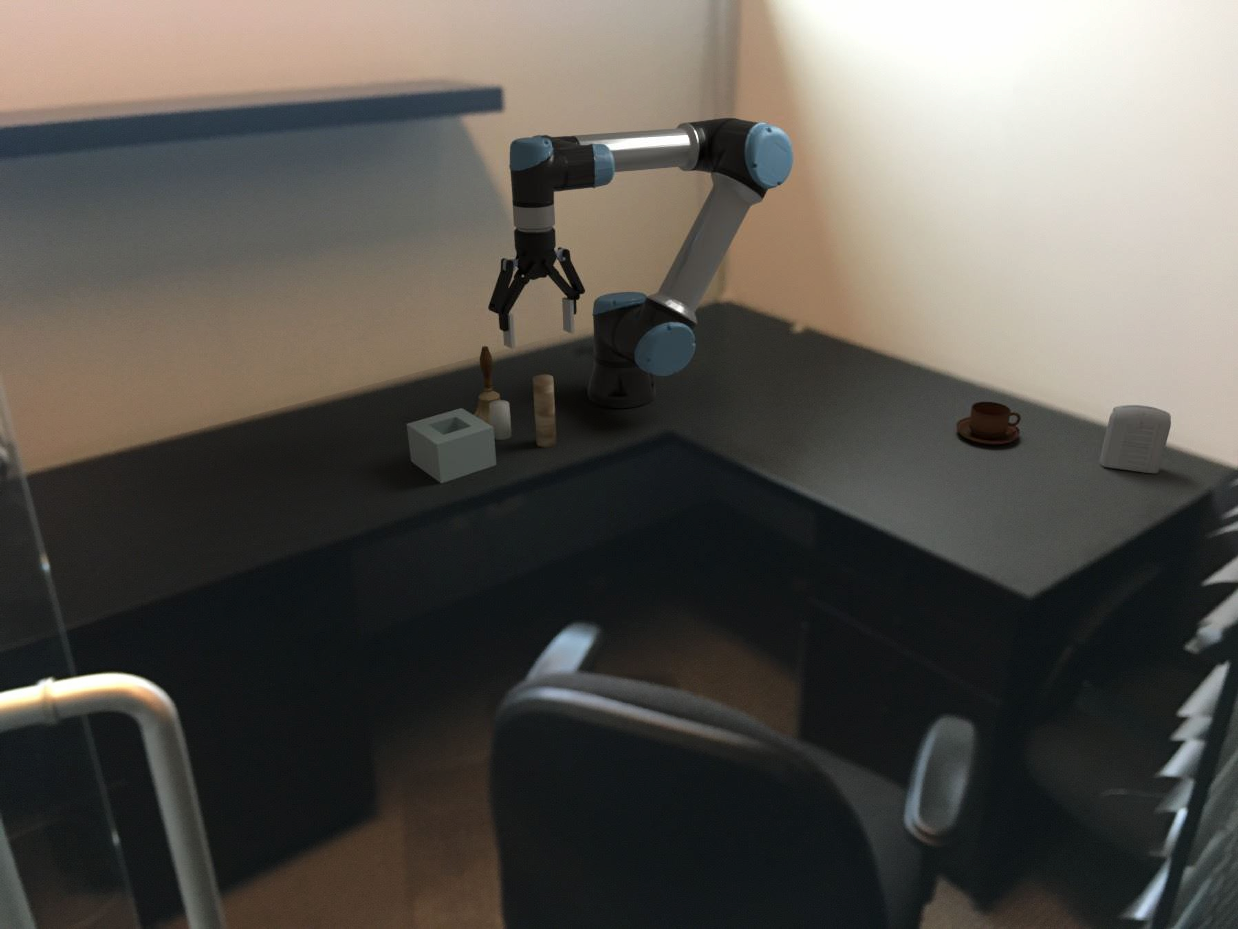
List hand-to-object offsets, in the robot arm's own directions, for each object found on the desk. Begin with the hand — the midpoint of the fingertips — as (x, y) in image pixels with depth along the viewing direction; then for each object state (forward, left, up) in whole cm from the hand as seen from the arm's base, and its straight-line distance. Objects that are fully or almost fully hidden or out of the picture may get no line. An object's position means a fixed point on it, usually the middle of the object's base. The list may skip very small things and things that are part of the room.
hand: (539, 339), depth 191 cm
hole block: (+19, -4, -22) cm, 29 cm away
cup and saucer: (-70, +54, -23) cm, 91 cm away
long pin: (0, 0, -22) cm, 22 cm away
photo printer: (-78, +79, -22) cm, 113 cm away
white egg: (+5, -9, -22) cm, 24 cm away
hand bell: (+2, -18, -22) cm, 29 cm away
